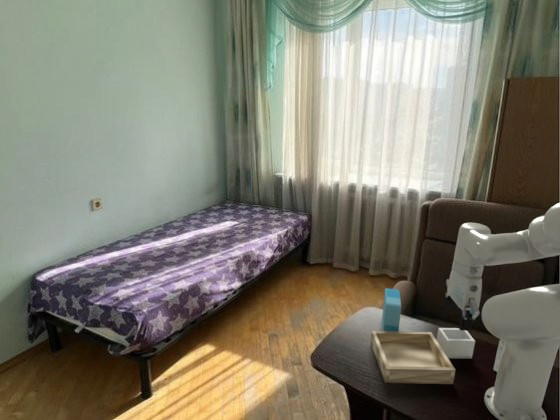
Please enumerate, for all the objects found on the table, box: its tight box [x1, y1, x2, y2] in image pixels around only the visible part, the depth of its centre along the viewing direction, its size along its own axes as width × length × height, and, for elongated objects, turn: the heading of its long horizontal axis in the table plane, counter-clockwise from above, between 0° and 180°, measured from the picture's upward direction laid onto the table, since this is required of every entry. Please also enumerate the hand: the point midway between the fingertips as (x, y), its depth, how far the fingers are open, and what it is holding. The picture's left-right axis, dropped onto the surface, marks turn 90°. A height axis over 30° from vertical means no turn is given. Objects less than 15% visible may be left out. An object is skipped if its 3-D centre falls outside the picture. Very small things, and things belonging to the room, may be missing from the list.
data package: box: [381, 287, 402, 332], centre depth 115 cm, size 12×4×12 cm, turn 165°
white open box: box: [436, 327, 476, 360], centre depth 105 cm, size 6×8×6 cm
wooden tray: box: [370, 330, 456, 385], centre depth 100 cm, size 16×18×4 cm
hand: (456, 319), depth 103 cm, fingers open, 9 cm apart
